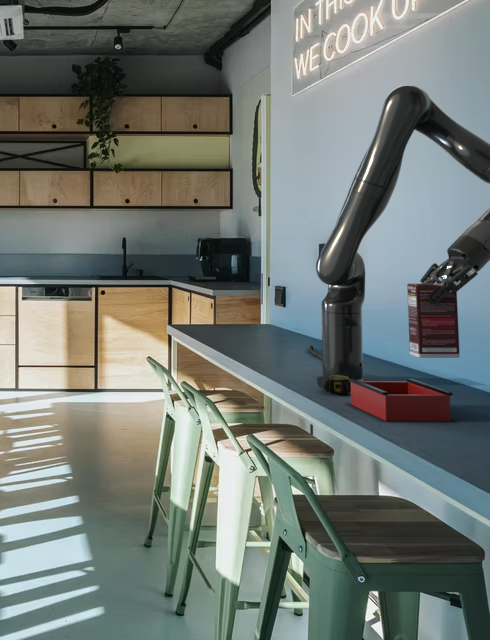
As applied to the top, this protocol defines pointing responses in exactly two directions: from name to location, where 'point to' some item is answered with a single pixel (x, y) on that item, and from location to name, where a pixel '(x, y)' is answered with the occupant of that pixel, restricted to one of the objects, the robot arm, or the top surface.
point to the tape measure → (334, 383)
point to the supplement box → (432, 323)
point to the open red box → (401, 400)
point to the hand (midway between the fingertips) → (423, 300)
